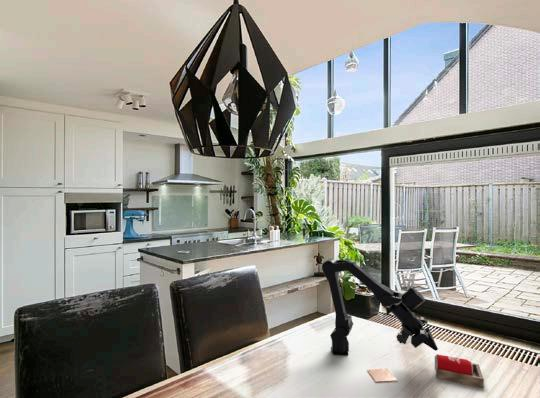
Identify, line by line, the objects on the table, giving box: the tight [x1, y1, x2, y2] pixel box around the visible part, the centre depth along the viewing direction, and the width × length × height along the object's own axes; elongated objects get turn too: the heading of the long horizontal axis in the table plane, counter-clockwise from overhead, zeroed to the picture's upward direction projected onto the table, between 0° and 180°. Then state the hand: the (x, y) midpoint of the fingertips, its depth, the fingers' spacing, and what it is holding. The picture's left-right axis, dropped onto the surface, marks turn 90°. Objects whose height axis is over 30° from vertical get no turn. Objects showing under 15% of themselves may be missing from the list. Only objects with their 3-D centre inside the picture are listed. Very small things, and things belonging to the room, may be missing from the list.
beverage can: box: [434, 353, 473, 376], centre depth 120 cm, size 6×6×12 cm
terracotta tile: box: [367, 368, 398, 384], centre depth 120 cm, size 8×8×1 cm
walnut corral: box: [435, 362, 485, 389], centre depth 120 cm, size 14×11×3 cm
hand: (436, 349), depth 123 cm, fingers closed
